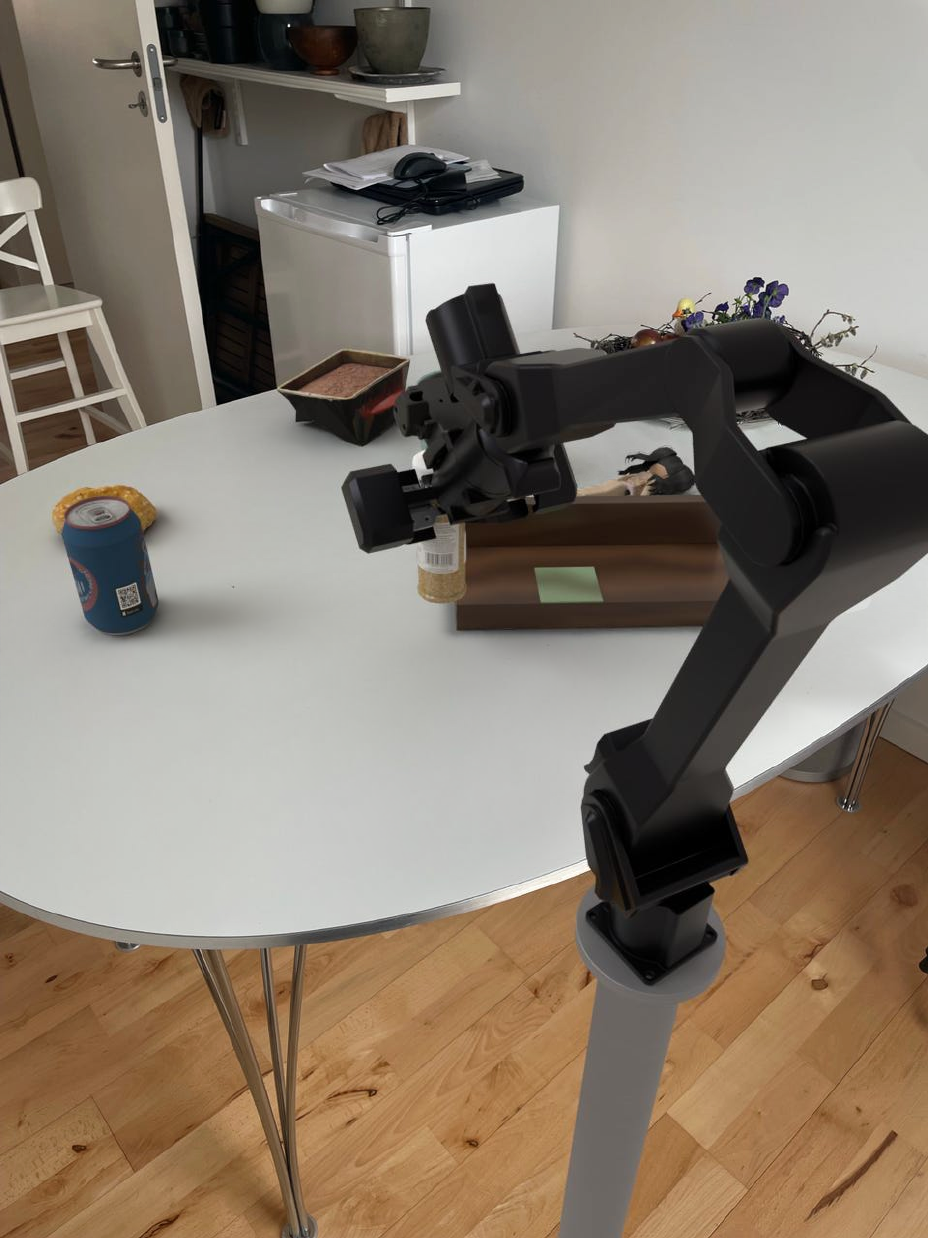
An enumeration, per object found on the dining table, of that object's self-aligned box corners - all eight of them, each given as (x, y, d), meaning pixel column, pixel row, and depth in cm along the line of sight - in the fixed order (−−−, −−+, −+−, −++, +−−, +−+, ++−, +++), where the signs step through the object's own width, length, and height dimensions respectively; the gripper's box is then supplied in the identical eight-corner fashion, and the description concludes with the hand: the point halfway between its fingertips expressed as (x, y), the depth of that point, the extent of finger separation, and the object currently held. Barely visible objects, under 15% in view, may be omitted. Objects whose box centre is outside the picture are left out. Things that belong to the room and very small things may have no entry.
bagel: (170, 536, 104) (162, 498, 102) (67, 562, 100) (56, 523, 97) (145, 499, 111) (137, 462, 108) (48, 522, 107) (37, 485, 104)
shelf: (742, 625, 91) (758, 555, 87) (456, 630, 90) (456, 560, 86) (711, 559, 101) (724, 493, 96) (452, 563, 100) (452, 497, 95)
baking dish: (274, 442, 129) (262, 378, 122) (351, 381, 139) (344, 319, 132) (359, 474, 124) (351, 409, 116) (432, 409, 134) (429, 346, 127)
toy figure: (607, 534, 106) (703, 494, 112) (606, 483, 103) (705, 445, 109) (568, 515, 111) (661, 477, 118) (565, 465, 108) (662, 430, 114)
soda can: (77, 614, 92) (46, 506, 85) (144, 590, 96) (120, 485, 89) (102, 648, 88) (71, 538, 81) (172, 622, 91) (149, 514, 84)
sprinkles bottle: (474, 584, 86) (475, 450, 79) (454, 610, 83) (454, 473, 75) (428, 574, 88) (425, 441, 80) (408, 599, 84) (402, 463, 77)
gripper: (569, 338, 72) (501, 420, 87) (339, 374, 66) (307, 456, 80) (615, 472, 71) (538, 532, 86) (384, 522, 65) (344, 578, 79)
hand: (434, 522), depth 83 cm, fingers closed on sprinkles bottle, 4 cm apart
